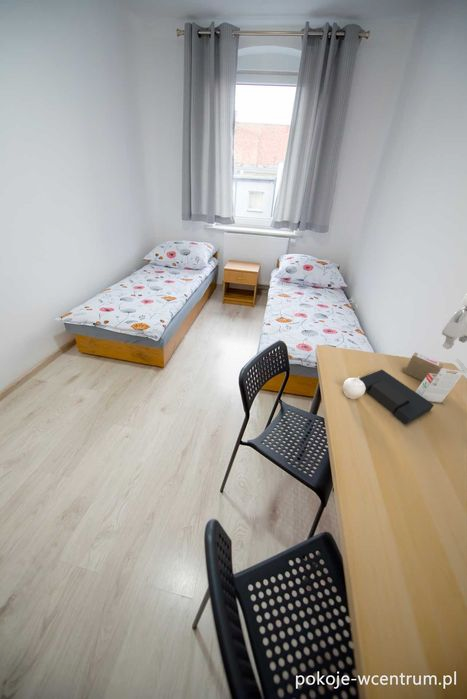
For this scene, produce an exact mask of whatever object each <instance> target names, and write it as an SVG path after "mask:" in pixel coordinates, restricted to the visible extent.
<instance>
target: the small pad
mask: <svg viewBox="0 0 467 699" xmlns="http://www.w3.org/2000/svg"><path fill="white" fill-rule="evenodd" d="M367 394H368V395H369V396H370V397H371V398H372V399H374V400H375V401H376V402H378V403H379V404H380V405H382V406H383V407H384V408H386V409H387V410H388V411H389V412H391V414H394V413H395V412H396V410H397V409H398V408H400V407H402V406H404V405H405V404H406V403H407V401H408V400H409V399H408V398H406V397H405V396H403V395H402V394H401V393H399V392H398V391H396V390H395V389H394V388H392V387H391V386H390V385H388V384H387V383H385V382H384V381H381V382H378V383H376V384H373V385H372V386H371V388H370V390H369V391H368V392H367Z"/></svg>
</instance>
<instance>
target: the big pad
mask: <svg viewBox="0 0 467 699" xmlns="http://www.w3.org/2000/svg"><path fill="white" fill-rule="evenodd" d="M359 379H360V380H361V381H362V382H363V383H364V384H365V387H366V390H365V393H368V392H369V390H370V388H371V386H372V385H373V384H376V383H378V382H381V381H384V382H385V383H387V384H388V385H390V386H391V387H392V388H394V389H395V390H396V391H398V392H399V393H401V394H402V395H403V396H405V397H406V398H408V399H409V400H408V401H407V403H406V404H405V405H404V406H402V407H400V408H398V409H397V410H396V412H394V413H393V417H395V418H396V419H398V421H400V422H401V423H403V424H404V425H405V426H407V425H408V424H410V423H411V422H414V421H415V420H417V419H419V418H420V417H422V416H424V415H425V414H427V413H429V412H430V411H431V410H432V409H433V407H434V406H435V404H433V403H432V402H431V401H427V400H426V399H425V398H423V397H422V396H420V395H419V394H417V393H416V391H414V390H413V389H412V388H410V387H408V386H407V385H406V384H404V383H403V382H401V381H399V380H398V379H397V378H396V377H394V376H393V375H391V374H390V373H388V372H387V371H386V370H383V369H380V370H377V371H374V372H372V373H369V374H367V375H363V376H361V377H359Z"/></svg>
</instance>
